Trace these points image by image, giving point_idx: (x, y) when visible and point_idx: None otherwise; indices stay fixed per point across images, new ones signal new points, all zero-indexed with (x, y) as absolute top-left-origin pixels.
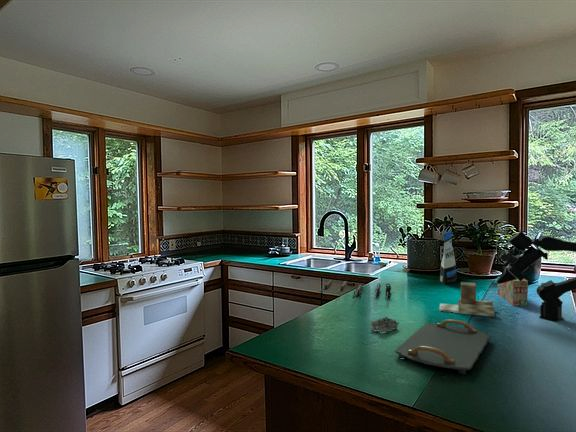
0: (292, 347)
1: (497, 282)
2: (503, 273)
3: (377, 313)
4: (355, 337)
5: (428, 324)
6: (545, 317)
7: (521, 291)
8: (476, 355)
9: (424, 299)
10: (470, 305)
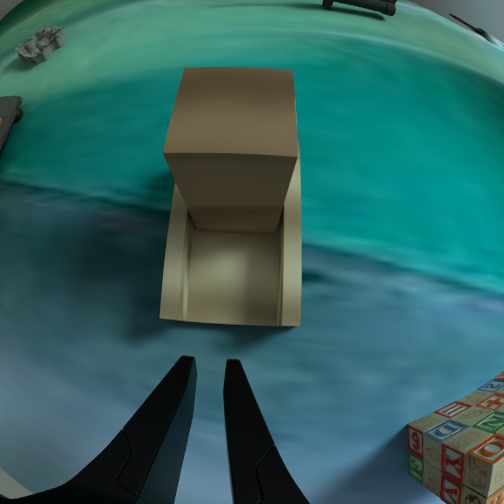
0: (13, 21)
1: (182, 360)
2: (233, 490)
3: (150, 6)
4: (20, 41)
5: (11, 102)
6: None
7: (446, 480)
8: None
9: (359, 71)
10: (174, 190)
